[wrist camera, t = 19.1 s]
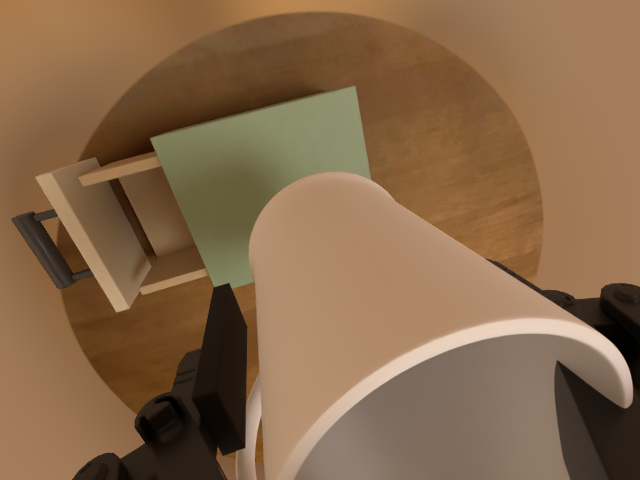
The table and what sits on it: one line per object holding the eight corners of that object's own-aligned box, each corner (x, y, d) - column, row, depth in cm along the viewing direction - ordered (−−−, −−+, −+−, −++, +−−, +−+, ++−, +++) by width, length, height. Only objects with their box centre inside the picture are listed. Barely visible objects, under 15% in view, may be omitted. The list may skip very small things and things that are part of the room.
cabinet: (224, 250, 38) (216, 293, 29) (176, 129, 33) (149, 138, 24) (352, 212, 40) (382, 243, 31) (328, 90, 34) (355, 85, 25)
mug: (286, 376, 20) (334, 691, 9) (169, 299, 17) (25, 657, 6) (432, 246, 19) (686, 437, 8) (336, 132, 15) (555, 196, 4)
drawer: (96, 285, 36) (58, 330, 29) (29, 174, 31) (-39, 195, 24) (269, 234, 38) (274, 265, 30) (233, 121, 32) (228, 126, 25)
